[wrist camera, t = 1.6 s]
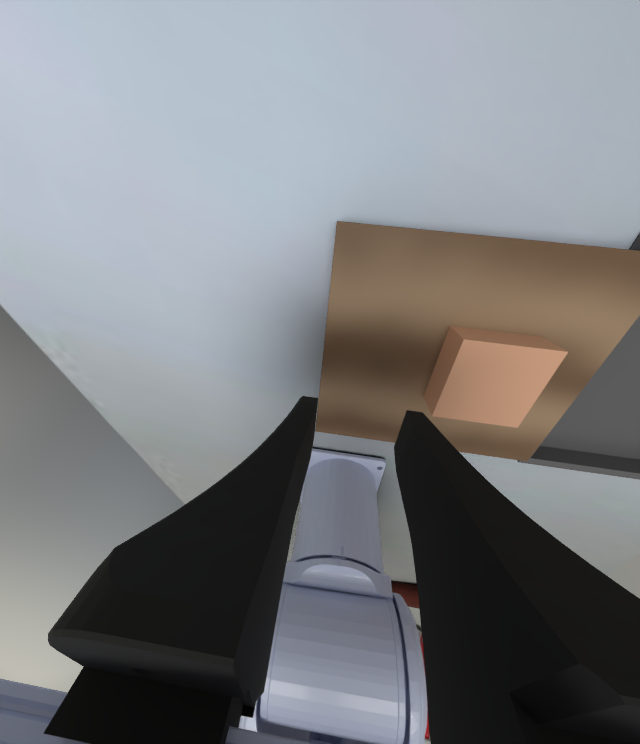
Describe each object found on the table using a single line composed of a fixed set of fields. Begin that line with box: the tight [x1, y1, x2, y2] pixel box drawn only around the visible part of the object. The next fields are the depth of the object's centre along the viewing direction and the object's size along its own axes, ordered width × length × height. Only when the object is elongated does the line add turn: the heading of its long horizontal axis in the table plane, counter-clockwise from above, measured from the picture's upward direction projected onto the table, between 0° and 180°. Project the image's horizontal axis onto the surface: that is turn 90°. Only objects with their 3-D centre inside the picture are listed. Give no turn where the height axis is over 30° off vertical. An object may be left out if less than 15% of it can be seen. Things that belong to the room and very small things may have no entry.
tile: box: [424, 326, 568, 428], centre depth 14 cm, size 5×5×2 cm
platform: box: [315, 221, 640, 461], centre depth 16 cm, size 14×16×3 cm
